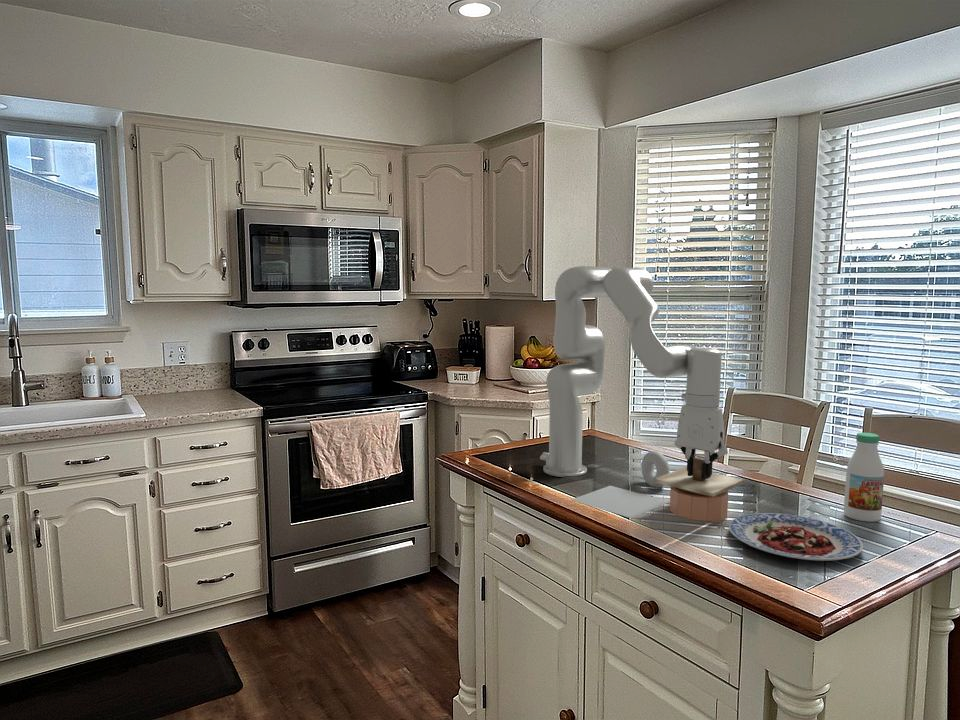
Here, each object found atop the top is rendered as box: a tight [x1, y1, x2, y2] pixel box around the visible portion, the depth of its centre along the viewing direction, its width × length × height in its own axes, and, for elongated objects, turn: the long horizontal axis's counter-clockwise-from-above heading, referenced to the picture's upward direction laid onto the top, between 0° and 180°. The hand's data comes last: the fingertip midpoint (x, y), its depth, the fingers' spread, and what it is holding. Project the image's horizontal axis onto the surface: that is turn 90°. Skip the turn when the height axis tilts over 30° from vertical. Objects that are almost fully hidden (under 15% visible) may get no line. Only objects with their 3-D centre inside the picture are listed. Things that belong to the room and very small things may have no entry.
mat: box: [571, 485, 670, 519], centre depth 167 cm, size 18×17×1 cm
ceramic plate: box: [728, 512, 864, 562], centre depth 142 cm, size 26×26×3 cm
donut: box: [640, 450, 671, 489], centre depth 179 cm, size 10×4×10 cm, turn 23°
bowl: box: [669, 486, 729, 524], centre depth 159 cm, size 13×13×6 cm
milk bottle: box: [843, 432, 885, 523], centre depth 156 cm, size 8×8×20 cm
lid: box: [654, 456, 744, 497], centre depth 158 cm, size 15×15×6 cm
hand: (699, 476), depth 159 cm, fingers closed on lid, 3 cm apart
